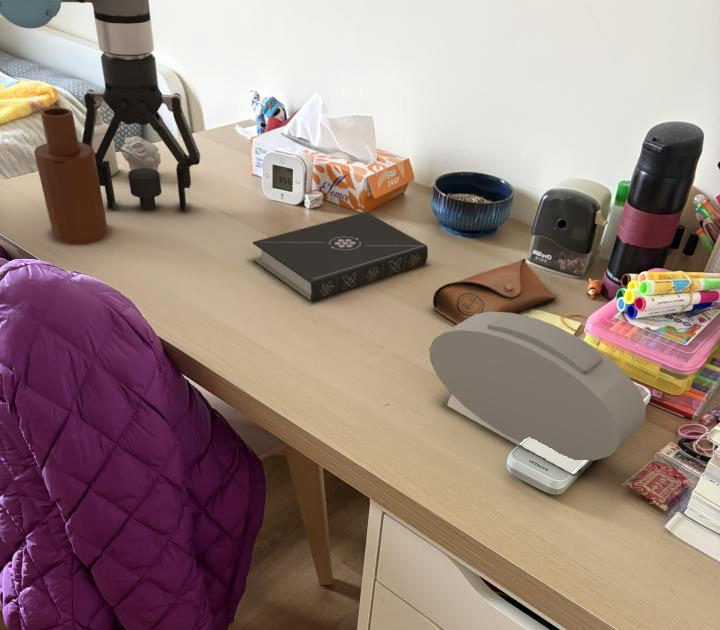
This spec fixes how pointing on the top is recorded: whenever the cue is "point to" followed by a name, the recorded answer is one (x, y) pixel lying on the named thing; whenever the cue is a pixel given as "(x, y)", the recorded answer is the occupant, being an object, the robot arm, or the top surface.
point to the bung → (145, 186)
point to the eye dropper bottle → (97, 139)
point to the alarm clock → (537, 384)
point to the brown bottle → (70, 181)
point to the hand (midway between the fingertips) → (147, 206)
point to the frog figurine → (140, 153)
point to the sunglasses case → (492, 293)
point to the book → (339, 255)
